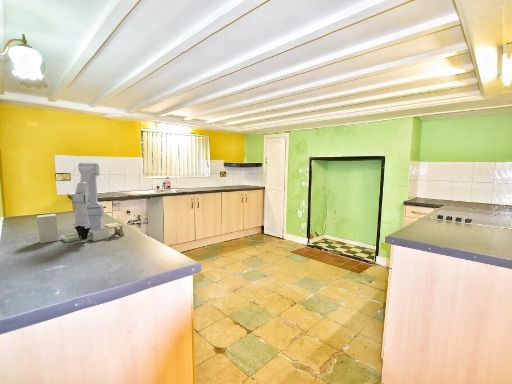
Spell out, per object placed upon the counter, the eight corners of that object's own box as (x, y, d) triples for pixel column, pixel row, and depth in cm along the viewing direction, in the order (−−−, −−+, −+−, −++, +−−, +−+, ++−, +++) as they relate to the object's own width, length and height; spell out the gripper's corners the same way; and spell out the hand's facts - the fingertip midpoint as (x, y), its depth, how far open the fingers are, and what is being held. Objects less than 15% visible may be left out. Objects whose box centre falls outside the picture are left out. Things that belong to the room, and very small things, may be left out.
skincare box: (58, 238, 149) (56, 213, 148) (58, 241, 145) (56, 215, 143) (39, 241, 144) (37, 215, 142) (39, 243, 140) (36, 216, 138)
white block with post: (79, 241, 144) (78, 232, 144) (104, 236, 155) (104, 227, 154) (82, 243, 141) (82, 234, 140) (109, 238, 152) (108, 229, 151)
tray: (61, 239, 148) (60, 235, 148) (85, 234, 158) (85, 231, 158) (67, 242, 142) (66, 238, 142) (91, 237, 152) (91, 234, 152)
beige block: (104, 235, 156) (103, 224, 155) (117, 232, 162) (117, 222, 162) (110, 238, 151) (109, 227, 150) (124, 235, 157) (123, 224, 156)
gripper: (68, 214, 143) (70, 238, 145) (78, 218, 134) (79, 243, 136) (82, 212, 149) (84, 235, 150) (93, 215, 140) (94, 240, 142)
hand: (83, 239), depth 144 cm, fingers open, 3 cm apart
